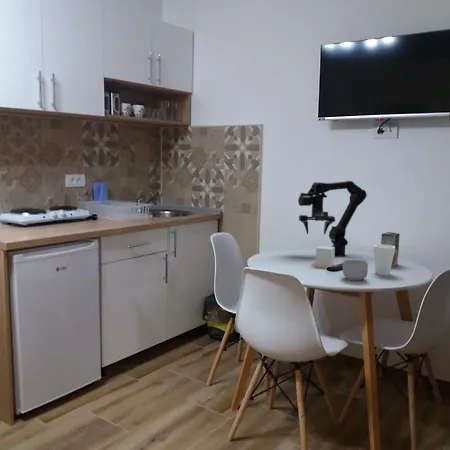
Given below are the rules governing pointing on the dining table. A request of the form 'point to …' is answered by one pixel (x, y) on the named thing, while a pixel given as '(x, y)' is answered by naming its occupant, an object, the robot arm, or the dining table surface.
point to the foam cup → (383, 258)
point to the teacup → (355, 269)
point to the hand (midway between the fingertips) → (315, 234)
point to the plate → (320, 267)
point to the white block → (325, 256)
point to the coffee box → (391, 240)
